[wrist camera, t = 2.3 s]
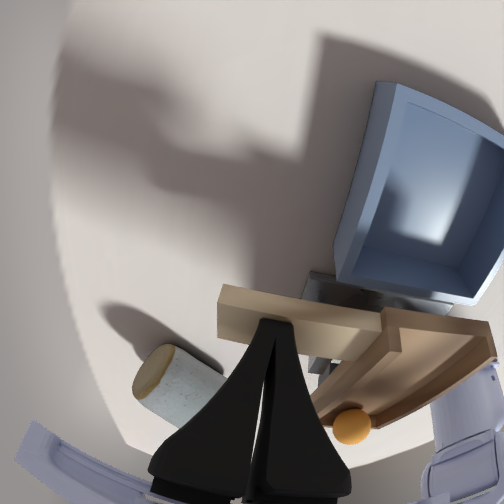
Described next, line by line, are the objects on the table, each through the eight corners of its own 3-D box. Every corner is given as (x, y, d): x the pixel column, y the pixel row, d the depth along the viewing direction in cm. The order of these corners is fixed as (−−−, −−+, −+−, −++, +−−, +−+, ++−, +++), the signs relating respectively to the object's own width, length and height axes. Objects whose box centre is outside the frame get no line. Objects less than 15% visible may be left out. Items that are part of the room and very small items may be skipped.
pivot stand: (450, 298, 18) (471, 350, 14) (416, 344, 22) (426, 394, 17) (310, 271, 19) (308, 333, 15) (291, 327, 22) (284, 383, 18)
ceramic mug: (177, 328, 25) (146, 398, 19) (241, 371, 28) (224, 437, 22) (135, 355, 31) (110, 407, 25) (188, 388, 33) (170, 439, 27)
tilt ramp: (476, 286, 12) (497, 356, 9) (379, 381, 22) (378, 429, 19) (236, 236, 13) (208, 320, 10) (228, 360, 23) (215, 409, 20)
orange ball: (379, 405, 17) (376, 443, 15) (362, 413, 19) (359, 446, 17) (342, 403, 17) (338, 442, 15) (329, 410, 20) (324, 444, 18)
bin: (512, 146, 11) (545, 165, 8) (457, 272, 17) (474, 306, 14) (376, 81, 11) (397, 83, 8) (332, 244, 17) (336, 281, 14)
